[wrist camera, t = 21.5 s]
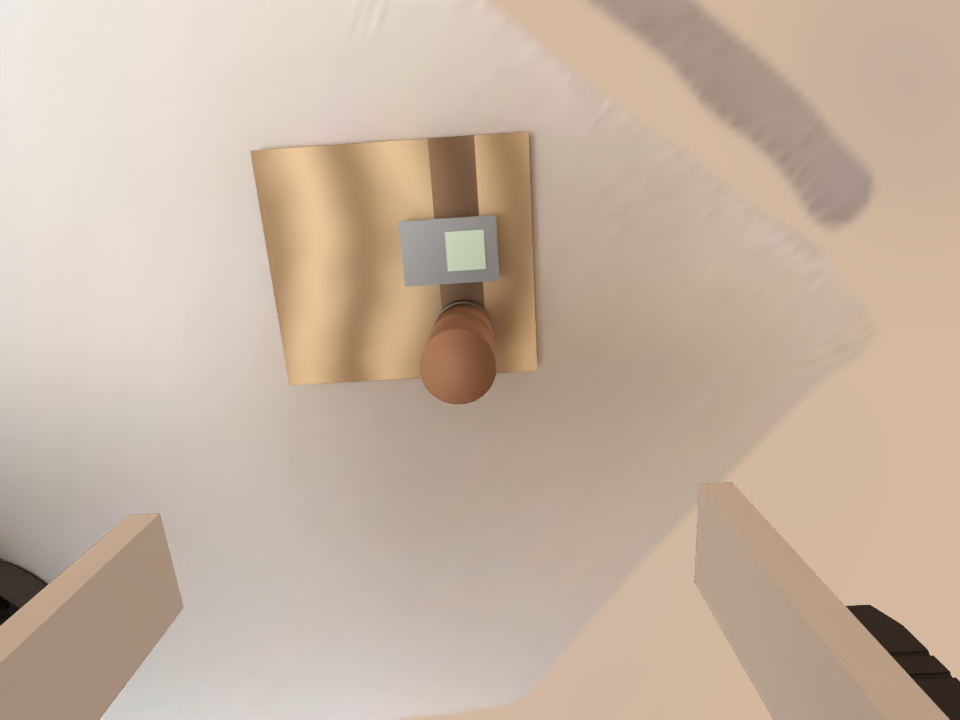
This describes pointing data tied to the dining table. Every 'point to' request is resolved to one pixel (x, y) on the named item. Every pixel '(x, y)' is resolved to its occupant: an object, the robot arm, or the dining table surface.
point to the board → (390, 250)
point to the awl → (460, 354)
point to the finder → (449, 250)
